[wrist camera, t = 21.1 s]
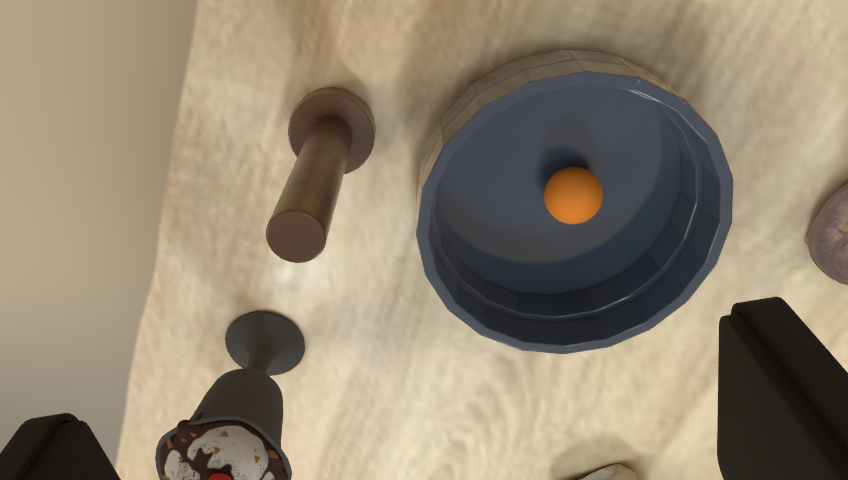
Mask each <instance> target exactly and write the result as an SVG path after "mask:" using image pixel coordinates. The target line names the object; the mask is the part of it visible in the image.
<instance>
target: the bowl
mask: <svg viewBox="0 0 848 480" xmlns="http://www.w3.org/2000/svg"><path fill="white" fill-rule="evenodd" d="M567 167H581V168H584V169H586V170H588V171H590V172H591V173H593V174H594V175H595V176H596V177H597V179H598V180H599V182H600V184H601V186H602V191H603V199H602V203H601V206H600V208H599V210H598V212H597V213H596V214H595V215H594V216H593V217H592V218H591V219H589V220H587V221H585V222H583V223H579V224H567V223H563V222H561V221H559V220H557V219H556V218H554V217H553V216H552V215H551V214H550V213H549V211H548V209H547V207H546V205H545V201H544V191H545V187H546V184H547V182H548V181H549V179H550V178H551V177H552V176H553V175H554V174H555V173H556V172H557V171H559V170H561V169H564V168H567ZM732 198H733V178H732V173H731V171H730V168H729V165H728V162H727V160H726V157H725V154H724V152H723V149H722V146H721V143H720V141H719V138H718V136H717V134H716V133H715V132H714V130H713V129H712V128H711V127H710V126H709V125H708V124H707V123H706V122H705V121H704V120H703V118H702V117H701V116H700V115H699V114H698V113H697V112H696V111H695V110H694V109H693V107H692V106H691V105H690V104H689V103H688V102H687V101H686V100H685V99H684V98H682V97H681V96H680V95H679V94H677V93H676V92H675V91H674V90H673V89H671V88H670V87H669V86H668V85H666V84H665V83H664V82H663V81H661V80H660V79H659V78H658V77H657V76H655V75H654V74H652V73H650V72H648V71H646V70H644V69H642V68H640V67H638V66H636V65H634V64H632V63H630V62H628V61H626V60H624V59H622V58H620V57H618V56H616V55H612V54H604V53H595V52H587V51H579V50H570V49H567V50H565V49H563V50H559V51H554V52H549V53H544V54H539V55H534V56H529V57H524V58H519V59H518V60H517V59H516V60H514V61H512V62H510V63H508V64H507V65H505V66H503V67H501V68H499V69H497V70H496V71H494V72H492V73H490V74H488V75H487V76H485V77H483V78H481V79H479V80H477V81H476V82H474V84H472V85H471V86H470V87H469V88H468V89H467V90H466V91H465V92H464V93H463V94H462V95H461V97H460V98H459V99H458V100H457V101H456V102H455V103H454V104H453V105H452V106H451V107H450V108H449V109H448V110H447V111H446V112H445V113H444V114H443V115H442V117H441V118H440V120H439V122H438V124H437V126H436V128H435V130H434V132H433V134H432V136H431V138H430V140H429V142H428V144H427V146H426V148H425V150H424V152H423V155H422V158H421V164H420V172H419V180H418V189H417V198H416V237H417V241H418V245H419V250H420V254H421V258H422V262H423V267H424V271H425V275H426V277H427V278H428V280H429V282H430V283H431V285H432V286H433V288H434V289H435V291H436V292H437V294H438V295H439V297H440V298H441V300H442V301H443V303H444V304H445V306H446V307H447V309H448V310H449V311H450V312H451V313H453V314H454V315H455V316H457V317H458V318H459V319H461V320H462V321H463V322H464V323H466V324H467V325H468V326H470V327H471V328H472V329H473V330H475V331H476V332H477V333H479V334H480V335H482V336H484V337H487V338H489V339H492V340H495V341H497V342H500V343H503V344H505V345H508V346H511V347H513V348H516V349H518V350H523V351H534V352H545V353H556V354H568V353H575V352H581V351H587V350H593V349H600V348H606V347H610V346H613V345H615V344H617V343H620V342H622V341H624V340H627V339H629V338H632V337H634V336H636V335H639V334H641V333H643V332H646V331H648V330H650V329H651V328H653V327H654V326H656V325H657V324H658V323H660V322H661V321H662V320H664V319H665V318H666V317H668V316H669V315H670V314H672V313H673V312H674V311H676V310H677V309H678V308H679V307H681V306H682V305H683V304H685V303H686V302H687V301H688V300H689V299H690V298H691V296H692V295H693V294H694V293H695V291H696V290H697V289H698V287H699V286H700V285H701V283H702V282H703V281H704V280H705V278H706V277H707V276H708V274H709V273H710V272H711V271H712V269H713V268H714V267H715V265H716V264H717V261H718V258H719V256H720V253H721V250H722V248H723V245H724V242H725V240H726V237H727V234H728V232H729V229H730V227H731V224H732V223H731V222H732Z"/></svg>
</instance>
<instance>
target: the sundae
mask: <svg viewBox="0 0 848 480" xmlns="http://www.w3.org/2000/svg"><path fill="white" fill-rule="evenodd" d="M225 340H226V347H227V351H228V352H229V354H230V356H231V357H232V359H233V360H234V361H235V362H236V363H237V364H238V365H239V366H241V367H242V368H243V369H236V370H233V371H230V372H227V373H225V374H224V375H222V376H221V377H220V378H218V379H217V381H216V382H215V383H214V384H213V386H212V387H211V388H210V389H209V391H208V392H207V393H206V395H205V396H204V398H203V400H202V401H201V403H200V405H199V406H198V408H197V409H196V411H195V413H194V414H193V416H192V417H191V418H190V420H182V421H180V422H179V423H178V425H177V427H176V428H174V429H172V430H171V431H169V432H168V433H166V434H165V435H164V436H162V438H161V439H160V441H159V443H158V446H157V449H156V457H155V460H156V468H157V472H158V475H159V479H160V480H291V476H292V471H291V466H290V464H289V461H288V458H287V457H286V455H285V454H284V452H283V451H282V449H281V433H282V422H283V398H282V393H281V390H280V388H279V386H278V385H277V384H276V382H275V381H274V380H273V379H272V378H270V377H269V376H271V375H278V374H282V373H285V372H288V371H290V370H291V369H293V368H294V367H295V366H296V365H297V364H298V363H299V362H300V361H301V359H302V357H303V354H304V351H305V344H304V339H303V337H302V335H301V333H300V331H299V330H298V328H297V327H296V326H295V325H294V324H293V323H291V322H290V321H289V320H287V319H286V318H284V317H282V316H279V315H276V314H273V313H269V312H253V313H249V314H246V315H243V316H241V317H239V318H238V319H236V320H235V321H234V322H233V323H232V324H231V325H230V326H229V328H228V331H227V334H226V338H225Z"/></svg>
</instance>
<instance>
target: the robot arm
mask: <svg viewBox="0 0 848 480" xmlns="http://www.w3.org/2000/svg"><path fill="white" fill-rule="evenodd" d="M717 457H718V463H719V467H720V471H721V474H722V476H723V479H724V480H848V373H847V372H846V370H845V369H844V368H843V367H842V366H841V365H840V364H839V362H838V361H837V360H836V359H835V358H834V357H833V356H832V354H831V353H830V352H829V351H828V350H827V349H826V348H825V346H824V345H823V344H822V343H821V342H820V341H819V340H818V338H817V337H816V336H815V335H814V334H813V333H812V332H811V330H810V329H809V328H808V327H807V326H806V325H805V324H804V322H803V321H802V320H801V319H800V318H799V317H798V316H797V314H796V313H795V312H794V311H793V310H792V309H791V308H790V306H789V305H788V304H787V303H786V302H785V301H784V300H783V299H782V298H780V297H771V298H765V299H759V300H753V301H747V302H741V303H736V304H734V305H733V307H732V309H731V315H727V316H723V317H721V319H720V322H719V366H718V433H717ZM0 480H121V479H120V478H119V476H118V474H117V473H116V471H115V469H114V468H113V466H112V464H111V463H110V461H109V459H108V457H107V456H106V454H105V452H104V451H103V449H102V447H101V446H100V444H99V442H98V441H97V439H96V437H95V436H94V434H93V432H92V431H91V429H90V427H89V426H88V425H87V423H85V422H83V421H79V420H78V419H77V418H76V417H75V416H74V415H72V414H70V413H63V414H57V415H50V416H45V417H38V418H32V419H29V420H27V421H25V422H24V423H23V424H22V425H21V426H20V427H19V429H18V430H17V431H16V433H15V434H14V436H13V437H12V438H11V440H10V441H9V442H8V444H7V445H6V446H5V448H4V449H3V451H2V452H1V453H0Z"/></svg>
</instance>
